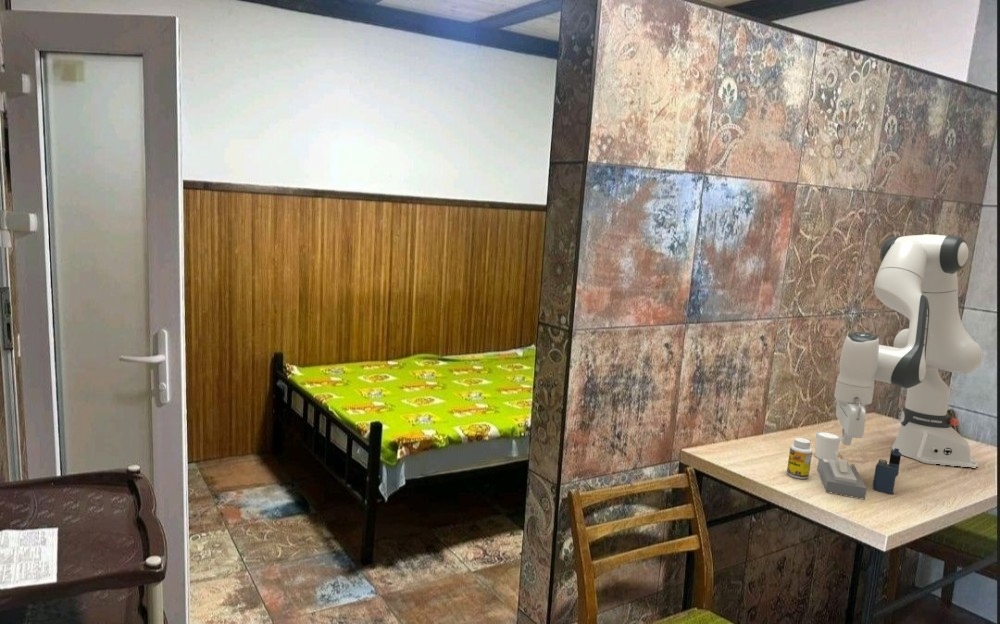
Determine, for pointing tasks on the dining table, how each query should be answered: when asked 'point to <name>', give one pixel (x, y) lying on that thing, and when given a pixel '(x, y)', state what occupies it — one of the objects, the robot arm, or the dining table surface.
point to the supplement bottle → (799, 459)
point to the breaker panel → (841, 479)
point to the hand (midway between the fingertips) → (845, 443)
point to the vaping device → (887, 473)
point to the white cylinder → (826, 445)
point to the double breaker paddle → (841, 461)
